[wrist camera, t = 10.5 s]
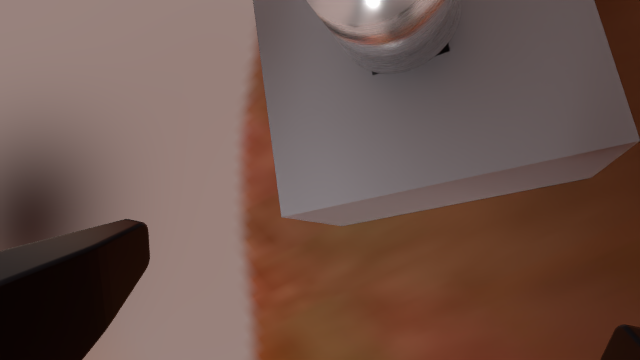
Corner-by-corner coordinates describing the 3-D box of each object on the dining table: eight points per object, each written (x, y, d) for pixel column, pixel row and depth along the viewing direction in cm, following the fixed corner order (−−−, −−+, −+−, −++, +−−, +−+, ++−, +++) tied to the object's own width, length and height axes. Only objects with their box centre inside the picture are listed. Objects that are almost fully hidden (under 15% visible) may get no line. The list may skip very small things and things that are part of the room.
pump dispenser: (597, 176, 16) (649, 138, 11) (342, 226, 20) (281, 217, 14) (529, -52, 18) (543, -182, 13) (310, 29, 22) (247, -45, 16)
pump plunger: (481, 112, 17) (467, -12, 9) (391, 135, 18) (308, 45, 10) (461, 30, 18) (431, -152, 10) (376, 57, 19) (288, -83, 11)
